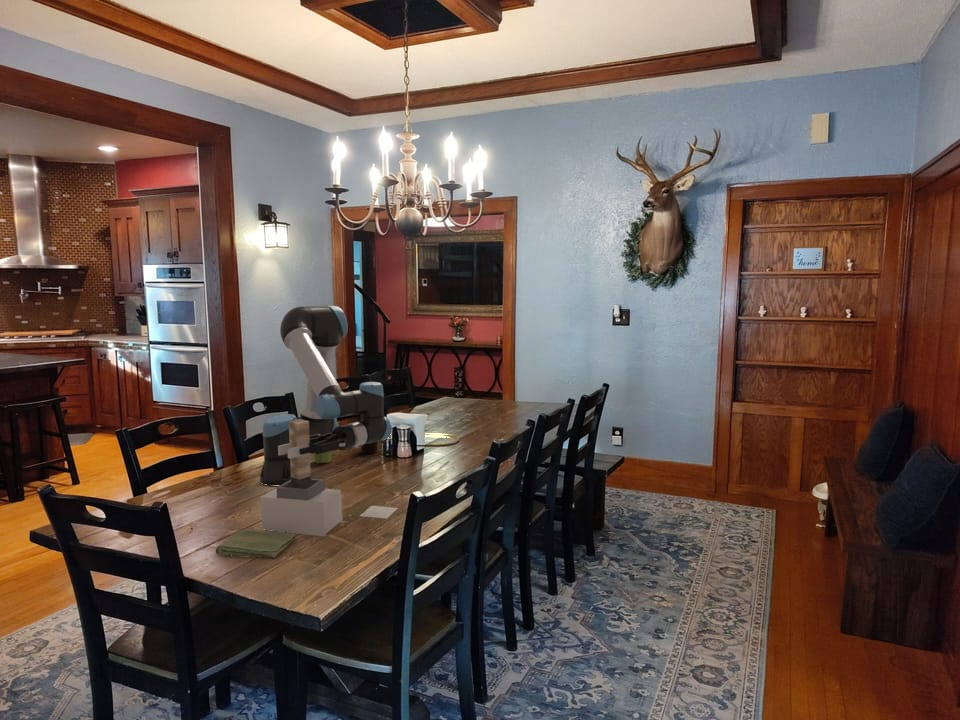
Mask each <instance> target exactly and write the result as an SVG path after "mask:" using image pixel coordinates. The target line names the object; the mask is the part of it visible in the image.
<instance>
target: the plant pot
mask: <svg viewBox="0 0 960 720" xmlns="http://www.w3.org/2000/svg"><path fill="white" fill-rule="evenodd" d="M332 452H333V451H329V452H325V453H321V454H316V453H313V457H314V463H316V464H319V463H322V464H328V463H330V462H331V461H332Z"/></svg>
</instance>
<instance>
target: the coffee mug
mask: <svg viewBox="0 0 960 720" xmlns="http://www.w3.org/2000/svg"><path fill="white" fill-rule="evenodd" d="M378 444H379V441H378V442H372V443H368V444H364V445H360V447H361V453H362V452H364V453H363V454H365V453H371V454H375V453H374V452H376V453H377V452H378V447H379V446H378Z"/></svg>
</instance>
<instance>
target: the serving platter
mask: <svg viewBox="0 0 960 720" xmlns="http://www.w3.org/2000/svg"><path fill="white" fill-rule="evenodd" d="M446 437H447V438H449V439H451V438H452V440H454V439H455V440H456V441H455V440H454V441H452V442H446V443H445V442H444V443H424V444H425V446H424V447H445V445H446V446H450V445H455V444H456V443H457V442H458V441H459V439H460V438H459V436H457V435H454V434H450V433H449V434H448V433H425V438H446Z"/></svg>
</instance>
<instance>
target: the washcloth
mask: <svg viewBox="0 0 960 720" xmlns="http://www.w3.org/2000/svg"><path fill="white" fill-rule="evenodd" d="M295 539H296V534H294V533H285V532H275V531H260V530H259V531H257V530H245V529H243V530H240V531H239V530H238V531H237V532H235V533H234V534H233V535H232V536H230V537H229V538H228V540H225V541H224V542H222V543H220V544H219V545H218V546H217V547H215V550H214V551H215V554H216V555H217V554H219V555H224V556H223V557H230V556H231V555H232V556H249V557H248V558H266V559H276V557H277V556H278V555H279V554H280V553H281V552H282V551H283V550H286V548H288V546H289V545H290V544H291V543H292V542H293V541H294V540H295ZM219 555H218V556H219Z"/></svg>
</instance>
